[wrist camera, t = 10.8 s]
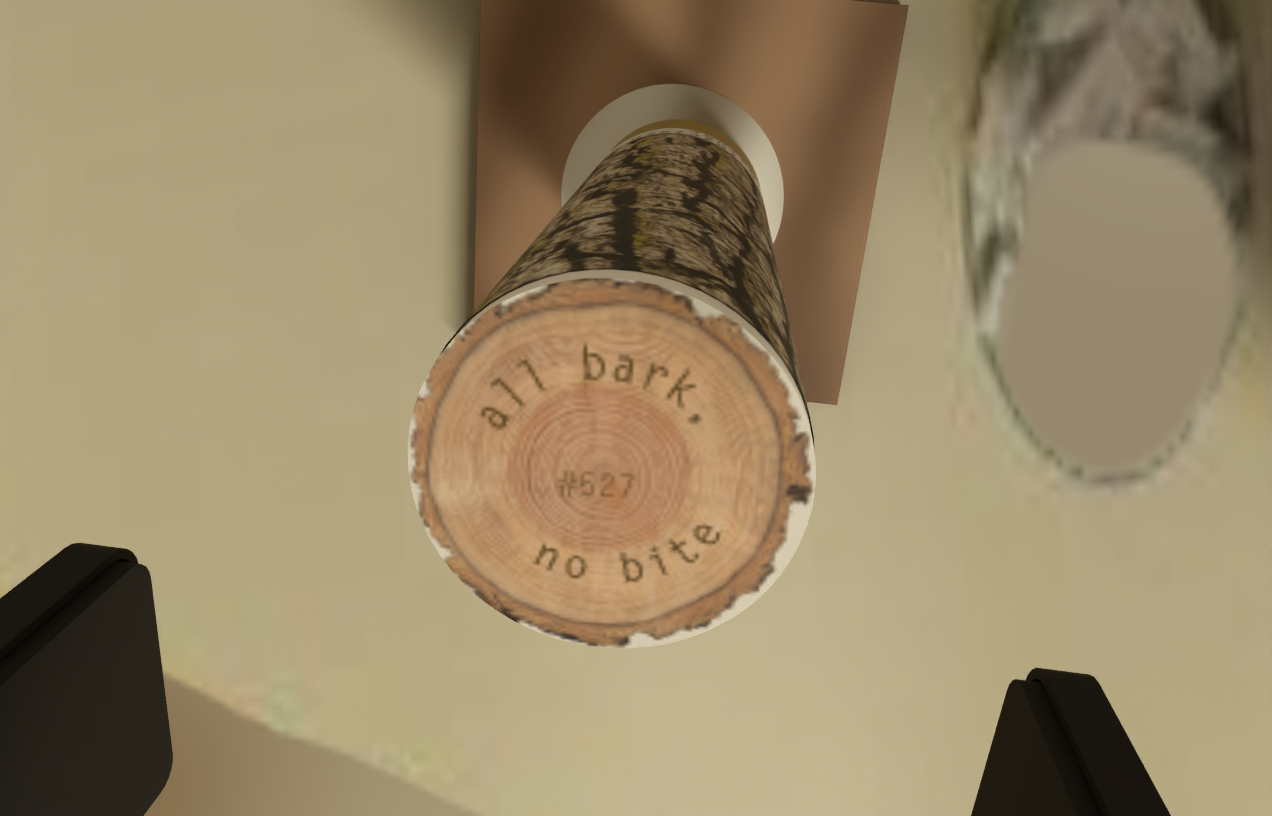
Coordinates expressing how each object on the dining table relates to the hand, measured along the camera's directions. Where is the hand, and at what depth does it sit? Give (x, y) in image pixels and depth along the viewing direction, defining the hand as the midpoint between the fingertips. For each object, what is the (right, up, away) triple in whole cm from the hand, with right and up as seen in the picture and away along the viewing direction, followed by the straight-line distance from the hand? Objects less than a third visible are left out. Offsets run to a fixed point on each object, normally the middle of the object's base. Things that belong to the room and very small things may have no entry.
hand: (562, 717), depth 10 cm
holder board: (+2, +12, +30) cm, 32 cm away
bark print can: (+2, +12, +29) cm, 31 cm away
